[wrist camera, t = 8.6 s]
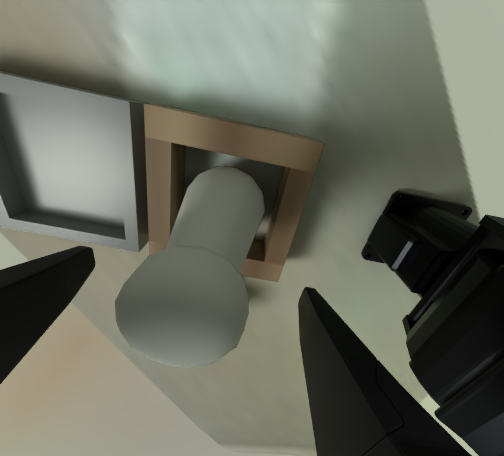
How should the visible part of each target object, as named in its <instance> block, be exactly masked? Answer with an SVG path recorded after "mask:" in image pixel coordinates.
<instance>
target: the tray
mask: <svg viewBox="0 0 504 456" xmlns="http://www.w3.org/2000/svg"><path fill="white" fill-rule="evenodd" d="M144 104H149V103H144V102H139V101H135V100H130V99H126V98H121V97H117V96H112V95H108V94H103V93H99V92H94V91H90V90H85V89H81V88H76V87H72V86H67V85H63V84H58V83H54V82H49V81H44V80H40V79H35V78H31V77H26V76H22V75H17V74H13V73H8V72H4V71H0V227H3V228H8V229H14V230H19V231H25V232H31V233H36V234H42V235H47V236H53V237H58V238H64V239H69V240H75V241H80V242H86V243H91V244H97V245H102V246H108V247H113V248H119V249H125V250H130V251H136V252H140V250H141V249H142V248H143V247H144V246H145V245H146V244H147V242H148V241H149V230H148V203H147V176H146V149H145V122H144Z"/></svg>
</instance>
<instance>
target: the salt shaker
mask: <svg viewBox="0 0 504 456" xmlns="http://www.w3.org/2000/svg"><path fill="white" fill-rule="evenodd" d="M264 212H265V206H264V200H263V194H262V191H261V189H260V188H259V187H258V185H257V184H256V182H255V181H254V180H253V178H252V177H251V176H250V175H248V174H246V173H244V172H242V171H241V170H239V169H237V168H234V167H220V166H216V167H214V168H212V169H209V170H207V171H205V172H202V173H200V174H198V175H197V177H196V178H195V179H194V180H193V182H192V183H191V184H190V185H189V187H188V188H187V191H186V194H185V196H184V199H183V202H182V205H181V207H180V210H179V213H178V216H177V219H176V221H175V224H174V227H173V230H172V232H171V235H170V238H169V241H168V244H167V246H166V249H164V250H161V251H159V252H156V253H154V254H152V255H150V256H148V257H147V258H146V259H145V260H144V262H143V263H142V264H141V265H140V266H139V267H138V268H137V269H136V270H135V272H134V273H133V274H132V275H131V276H130V278H129V279H128V280H127V281H126V282H125V283H124V285H123V287H122V289H121V291H120V293H119V294H118V296H117V298H116V300H115V312H116V322H117V325H118V327H119V330H120V332H121V333H122V335H123V336H124V338H125V339H126V341H127V342H128V344H129V345H130V347H132V348H133V349H135V350H136V351H138V352H139V353H141V354H142V355H144V356H145V357H147V358H148V359H151V360H154V361H156V362H159V363H162V364H165V365H168V366H175V367H190V368H193V367H198V366H203V365H208V364H213V363H214V362H216V361H217V360H219V359H220V358H221V357H223V356H224V355H226V354H227V353H229V352H230V351H231V350H233V349H234V348H236V347H237V345H238V342H239V340H240V338H241V336H242V333H243V331H244V328H245V324H246V321H247V317H248V314H249V299H248V295H247V291H246V287H245V283H244V280H243V277H242V274H241V273H240V271H241V269H242V266H243V264H244V261H245V259H246V256H247V254H248V251H249V249H250V246H251V244H252V241H253V239H254V236H255V234H256V232H257V230H258V228H259V225H260V223H261V220H262V217H263V214H264Z"/></svg>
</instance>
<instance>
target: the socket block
mask: <svg viewBox="0 0 504 456" xmlns="http://www.w3.org/2000/svg"><path fill="white" fill-rule="evenodd" d="M144 122H145V149H146V176H147V203H148V230H149V256H150V255H152V254H154V253H156V252H159V251H161V250H164V249H166V246H167V244H168V241H169V238H170V235H171V232H172V230H173V227H174V224H175V221H176V219H177V216H178V213H179V210H180V207H181V205H182V202H183V196H184V175H185V154H186V146H190V147H195V148H200V149H204V150H209V151H214V152H218V153H223V154H228V155H233V156H237V157H242V158H247V159H251V160H256V161H261V162H266V163H270V164H275V165H280V166H284V169H283V172H282V176H281V180H280V184H279V188H278V191H277V195H276V199H275V203H274V206H273V210H272V214H271V218H270V222H269V225H268V229H267V233H266V237H265V240H264V242H260V241H255V240H253V241H252V244H251V246H250V249H249V251H248V254H247V256H246V259H245V261H244V264H243V266H242V269H241V271H240V273H241V274H242V276H247V277H252V278H258V279H264V280H269V281H275V282H278V281H279V278H280V275H281V272H282V269H283V266H284V263H285V260H286V258H287V255H288V252H289V249H290V246H291V243H292V240H293V237H294V234H295V231H296V228H297V225H298V222H299V219H300V216H301V213H302V210H303V207H304V204H305V201H306V198H307V195H308V192H309V189H310V186H311V183H312V180H313V178H314V175H315V172H316V169H317V166H318V163H319V160H320V157H321V154H322V151H323V148H324V145H325V143H323V142H320V141H318V140H316V139H314V138H309V137H305V136H300V135H296V134H291V133H287V132H282V131H278V130H273V129H269V128H264V127H260V126H255V125H251V124H246V123H242V122H237V121H233V120H228V119H224V118H219V117H215V116H210V115H206V114H201V113H197V112H192V111H187V110H183V109H178V108H174V107H169V106H165V105H154V104H144Z"/></svg>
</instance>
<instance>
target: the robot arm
mask: <svg viewBox="0 0 504 456" xmlns="http://www.w3.org/2000/svg"><path fill="white" fill-rule="evenodd" d="M399 196H401V198H400V199H399V200H397V198H398V197H399ZM463 211H464V212H463ZM462 212H463V213H462ZM471 213H472V209H471V208H470V207H468V206H466V205H462V204H457V203H453V202H448V201H443V200H438V199H434V198H429V197H424V196H420V195H415V194H410V193H405V192H401V191H398V192H395V193H394V194H393V195H392V196H391V198H390V200H389V202H388V204H387V206H386V207H385V209H384V211H383V213H382V215H381V216H380V217H379V219H378V221H377V223H376V225H375V227H374V228H373V230H372V232H371V234H370V236H369V238H368V241H367V243H366V245H365V247H364V249H363V250H362V253H361V255H362V257H363V258H364V259H366V260H370V261H375V262H380V263H386V264H387V266H388V267H389V268H390V269H391V270H392V271H394V272H395V273H396V274H397V275H398V276H399V278H400V279H401V280H402V281H403V282H404V284H405V285H406V286H407V287H408V288H409V289H410V291H411V292H413V293H417V294H418V295H419V296H420V298H421V300H420V301H419V303H418V304H417V305H416V306H415V308H414V309H413V310H412V311H411V313H410V314H409V315H406V316H405V317H404V319H403V320H402V321H403V325H404V328H405V331H406V335H407V341H406V344H407V348H408V351H409V355H410V358H411V361H410V362H409V365H410V368H411V369H412V371H413V373H414V374H415V376H416V378H417V379H418V381H419V382H420V384H421V385H422V386H423V388H424V389H425V390H426V391H427V393H428V394H429V395H430V397H431V398H432V399H433V400H434V401H435V402H436V403H437V404H438V405H439V406H440V408H438V409H437V410H436V411H435V416H436V417H437V418H438V419H439V420H440V421H441V422H442V423H443V424H445V425H446V426H447V427H448V428H450V429H451V430H452V431H453V432H455V433H456V434H457V435H458V436H459V437H461V438H462V439H463V440H464V441H465V442H466V443H467V444H468V445H469V446H470V447H471V448H472V449H473V450H474V451H475V452H476V453H477V454H478V455H479V456H504V218H500V217H495V216H490V215H485V216H484V217H483V218H482V220H481V221H480V222H479V224H480V226H479V227H478V226H476V225H474V224H472V223H470V222H468V221H466V220H467V218H468V217H469V216H470V214H471ZM368 253H369V255H366V254H368ZM94 267H95V259H94V253H93V249H92V248H90V247H86V246H77V247H74V248H71V249H67V250H64V251H61V252H58V253H54V254H51V255H48V256H44V257H41V258H38V259H35V260H31V261H28V262H25V263H22V264H18V265H15V266H12V267H9V268H5V269H2V270H0V384H1V383H2V382H3V380H4V379H5V378H6V377H7V376H8V375H9V373H10V372H11V371H12V370H13V369H14V368H15V366H16V365H17V364H18V363H19V362H20V361H21V360H22V358H23V357H24V356H25V355H26V354H27V352H28V351H29V350H30V349H31V348H32V347H33V345H34V344H35V343H36V342H37V341H38V339H39V338H40V337H41V336H42V335H43V334H44V333H45V331H46V330H47V329H48V328H49V327H50V326H51V324H52V323H53V322H54V321H55V320H56V318H57V317H58V316H59V315H60V314H61V313H62V312H63V310H64V309H65V308H66V307H67V306H68V304H69V303H70V302H71V301H72V299H73V298H74V297H75V295H76V294H77V292H78V291H79V290H80V288H81V287H82V285H83V284H84V282H85V281H86V279H87V278H88V277H89V275H90V274H91V272H92V271H93V269H94ZM298 309H299V334H300V345H301V352H302V358H303V365H304V372H305V378H306V385H307V391H308V398H309V405H310V411H311V418H312V424H313V431H314V438H315V444H316V451H317V456H472V455H470V454H469V453H468V452H467V451H466V450H465V449H464V448H463V447H462V446H461V445H460V444H459V443H458V442H457V441H455V439H454V438H453V437H452V436H451V435H450V434H449V433H448V432H447V431H446V430H445V429H444V428H443V427H442V426H441V425H440V424H439V423H438V422H437V421H436V420H435V419H434V418H433V417H432V416H431V415H430V414H429V413H428V412H427V411H426V410H425V409H424V408H423V407H422V406H421V405H420V404H419V403H418V402H417V401H416V400H415V399H414V398H413V397H412V396H411V395H410V394H409V393H408V392H407V391H406V390H405V389H404V388H403V387H402V386H401V385H400V384H399V382H398V381H397V380H396V379H395V378H394V377H393V376H392V375H391V374H390V373H389V372H388V370H387V369H386V368H385V367H384V366H383V365H382V364H381V363H380V361H379V360H377V358H376V357H375V356H374V355H373V354H372V353H371V351H370V350H369V349H368V348H367V347H366V346H365V345H364V343H363V342H362V341H361V340H360V339H359V338H358V337H357V336H356V334H355V333H354V332H353V331H352V330H351V329H350V328H349V327H348V325H347V324H346V323H345V322H344V321H343V320H342V319H341V318H340V316H339V315H338V314H337V313H336V312H335V311H334V310H333V309H332V307H331V306H330V305H329V304H328V303H327V302H326V301H325V299H324V298H323V297H322V296H321V295H320V294H319V293H318V292H317V290H316V289H314V288H310V287H305V288H304V290H303V292H302V295H301V297H300V299H299V303H298Z"/></svg>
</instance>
